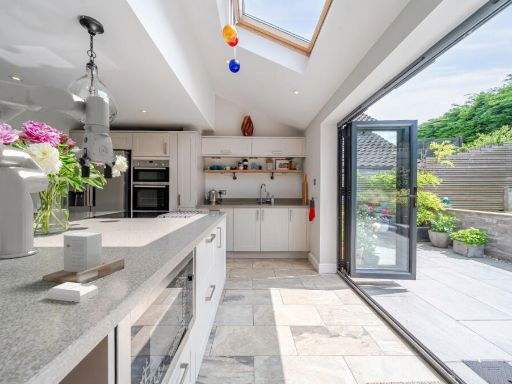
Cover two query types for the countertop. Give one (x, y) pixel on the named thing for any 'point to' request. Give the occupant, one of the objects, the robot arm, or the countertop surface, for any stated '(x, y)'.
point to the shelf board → (86, 273)
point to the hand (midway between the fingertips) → (97, 177)
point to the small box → (82, 251)
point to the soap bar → (72, 292)
